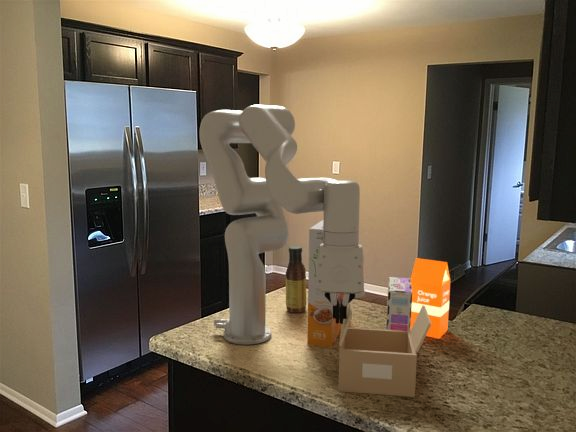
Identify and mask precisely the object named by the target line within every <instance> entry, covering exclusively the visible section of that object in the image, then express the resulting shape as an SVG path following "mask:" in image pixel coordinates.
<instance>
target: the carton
mask: <svg viewBox="0 0 576 432" xmlns="http://www.w3.org/2000/svg"><path fill="white" fill-rule="evenodd" d="M417 359H418V354H417V352H416V351H415V348H414V344H413V340H412V336H411V332H410V331H401V330H386V329H380V328H379V329H378V328H367V327H366V328H365V327H363V328H361V327H348V330H347V332H346V335H345V338H344V341H343V343H342V346H340V345H339V352H338V386H337V387H338V389H337V390H338V392H343V393H345V392H346V393H358V394H369V395H370V394H372V395H383V396H397V397H408V398H409V397H411V398H416V383H417V382H416V381H417V378H416V377H417V362H418V361H417Z"/></svg>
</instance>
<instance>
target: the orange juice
mask: <svg viewBox="0 0 576 432" xmlns="http://www.w3.org/2000/svg"><path fill="white" fill-rule="evenodd" d="M410 280H411V287H412V307H411V324H410V330H411V328H412V326H413V324H414V322H415V320H416V318H417V316H418V314H419V312H420V310H421V308H422V306H423V305H424V306H425V308H426V310H427V313H428V316H429V318H430V321H431V326H430V328H429V330H428V332H427V334H426V336H425V337H429V338H435V339H438V340H439V339H441V338H442V336H443V335H445V334H446V332H447V331H448V328H449V326H448V325H449V312H450V296H451V294H450V293H451V276H450V272H449V266H448V261H441V260H435V259H428V258H427V259H426V258H425V259H424V258H419V257H415V261H414V263H413V269H412V273H411V277H410Z"/></svg>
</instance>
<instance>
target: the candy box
mask: <svg viewBox="0 0 576 432" xmlns="http://www.w3.org/2000/svg"><path fill="white" fill-rule="evenodd" d="M410 279H411V277H398V276H397V277H395V276H388V284H387V285H388V286H387V299H386V300H387V301H386V303H387V304H386V325H385V326H386V328H385V330H401V331H410V324H411V307H412V287H411V280H410Z"/></svg>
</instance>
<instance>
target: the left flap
mask: <svg viewBox="0 0 576 432" xmlns="http://www.w3.org/2000/svg"><path fill="white" fill-rule="evenodd" d="M353 303H354V299H353V300H352V301H351V302H350V303H349V304H348V309H347V318H346V319H344V320H343V324H342V325H341V331H340V333H339V335H340V336H339V343H338V344H339V347H340V346H342V343H343V341H344V338H345V335H346V332H347V330H348V327H349V326H350V324H351V321H352V318H353V305H354V304H353Z"/></svg>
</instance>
